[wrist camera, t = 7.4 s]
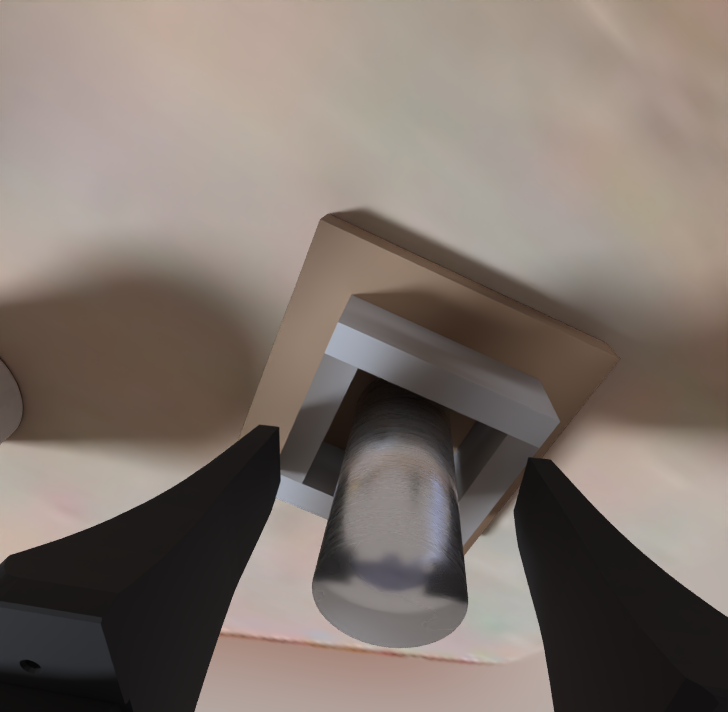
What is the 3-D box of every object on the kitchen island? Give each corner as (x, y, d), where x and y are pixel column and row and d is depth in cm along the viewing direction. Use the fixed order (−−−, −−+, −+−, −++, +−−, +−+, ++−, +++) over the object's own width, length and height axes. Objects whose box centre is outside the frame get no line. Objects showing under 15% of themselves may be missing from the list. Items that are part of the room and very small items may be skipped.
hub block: (606, 342, 15) (656, 398, 12) (459, 535, 19) (466, 615, 16) (328, 213, 14) (299, 234, 11) (241, 444, 18) (202, 507, 15)
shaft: (461, 386, 15) (490, 565, 8) (434, 461, 16) (441, 662, 10) (367, 363, 15) (326, 523, 9) (348, 439, 16) (301, 626, 10)
